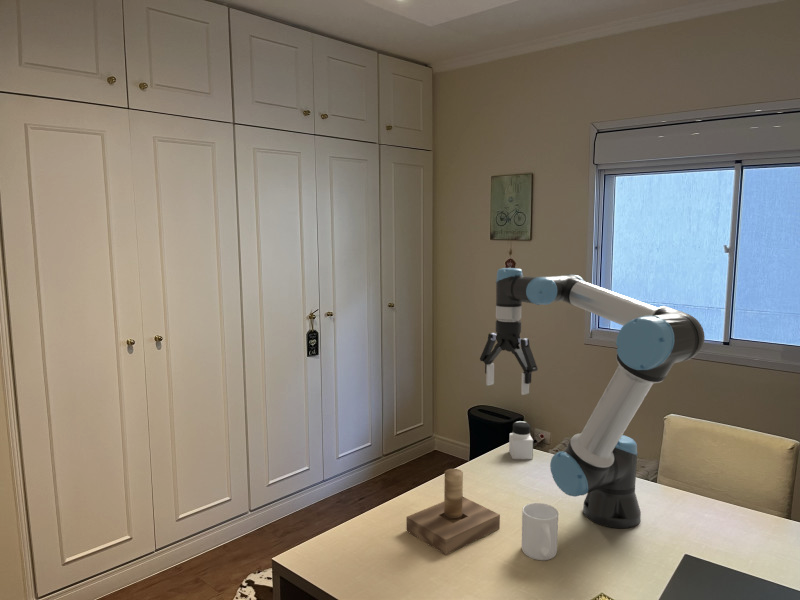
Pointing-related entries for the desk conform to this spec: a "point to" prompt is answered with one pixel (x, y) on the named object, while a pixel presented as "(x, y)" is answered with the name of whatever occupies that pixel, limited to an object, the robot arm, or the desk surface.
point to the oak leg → (453, 495)
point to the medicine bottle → (521, 441)
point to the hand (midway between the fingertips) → (507, 389)
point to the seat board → (452, 526)
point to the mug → (539, 531)
